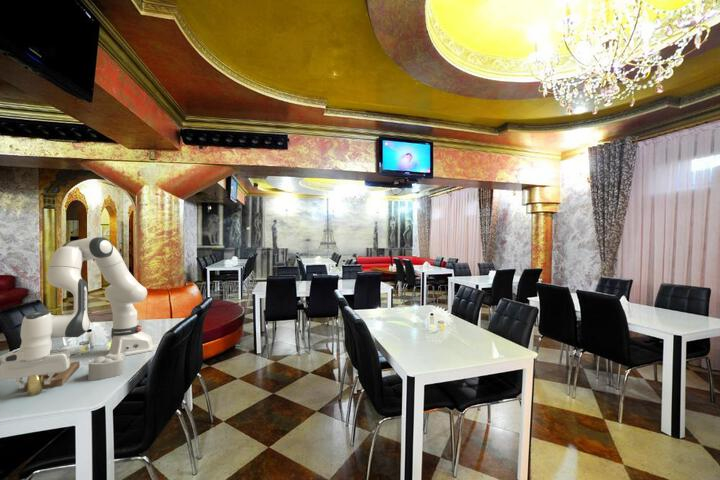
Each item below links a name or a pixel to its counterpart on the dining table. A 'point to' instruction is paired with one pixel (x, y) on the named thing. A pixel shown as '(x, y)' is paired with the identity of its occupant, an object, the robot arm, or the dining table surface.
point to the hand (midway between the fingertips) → (35, 385)
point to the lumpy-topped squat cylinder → (106, 367)
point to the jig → (58, 377)
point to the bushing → (34, 385)
